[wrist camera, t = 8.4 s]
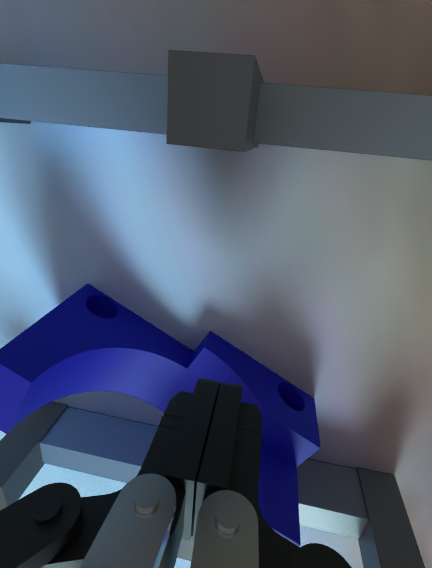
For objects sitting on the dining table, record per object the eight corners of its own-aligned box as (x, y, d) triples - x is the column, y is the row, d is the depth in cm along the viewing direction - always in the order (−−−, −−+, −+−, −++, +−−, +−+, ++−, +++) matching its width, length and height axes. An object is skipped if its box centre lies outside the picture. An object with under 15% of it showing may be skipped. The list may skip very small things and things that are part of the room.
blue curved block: (313, 396, 16) (330, 526, 11) (259, 444, 18) (249, 576, 13) (101, 257, 15) (1, 324, 10) (68, 325, 17) (-31, 411, 12)
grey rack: (563, 111, 10) (794, 90, 6) (383, 497, 18) (418, 621, 13) (-20, 66, 13) (-190, 26, 8) (43, 421, 20) (-26, 503, 16)
